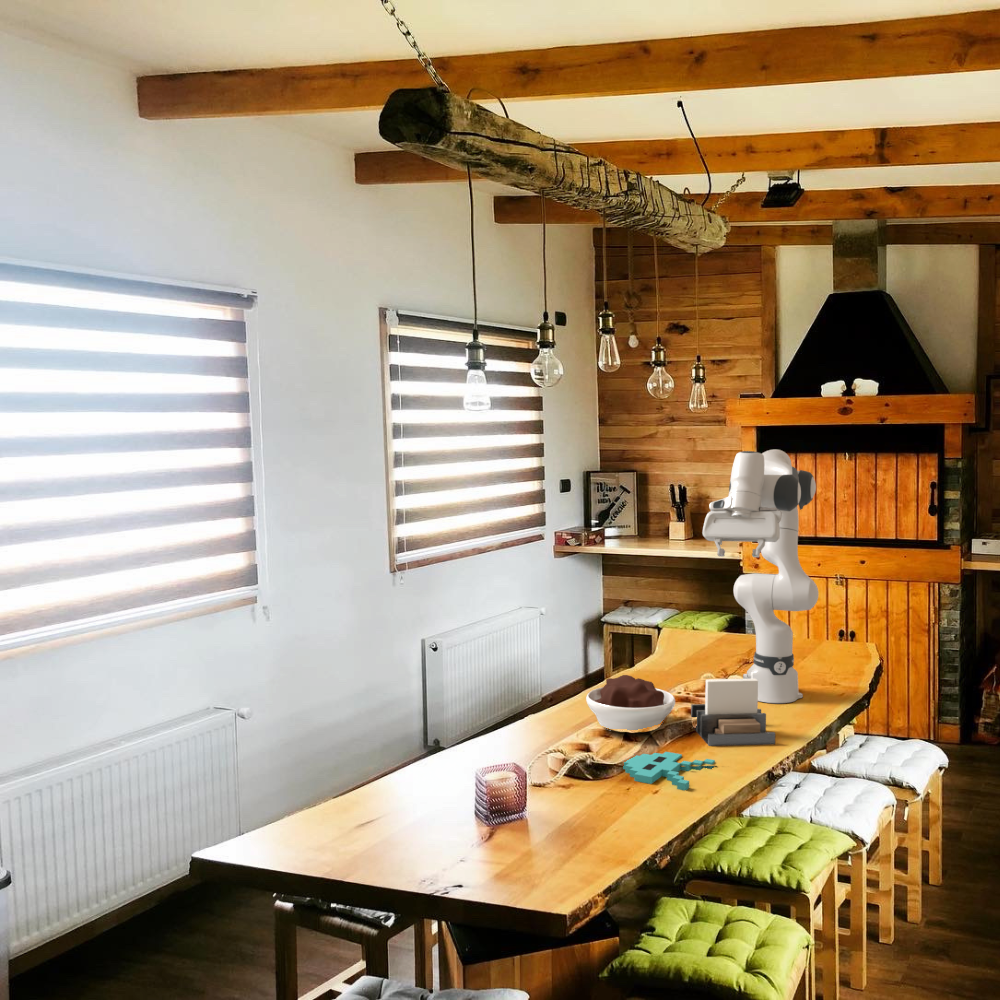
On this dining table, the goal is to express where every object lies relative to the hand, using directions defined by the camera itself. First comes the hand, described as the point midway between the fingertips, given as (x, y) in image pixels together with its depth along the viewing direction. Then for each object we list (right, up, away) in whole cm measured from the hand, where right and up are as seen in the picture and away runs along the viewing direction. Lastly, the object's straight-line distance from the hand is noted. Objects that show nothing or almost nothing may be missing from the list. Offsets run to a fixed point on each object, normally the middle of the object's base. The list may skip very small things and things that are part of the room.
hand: (738, 556), depth 290 cm
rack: (+1, -51, +13) cm, 53 cm away
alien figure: (-22, -54, -14) cm, 60 cm away
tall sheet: (+1, -50, +14) cm, 52 cm away
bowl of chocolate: (-26, -50, +22) cm, 61 cm away
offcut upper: (+2, -48, +8) cm, 48 cm away
